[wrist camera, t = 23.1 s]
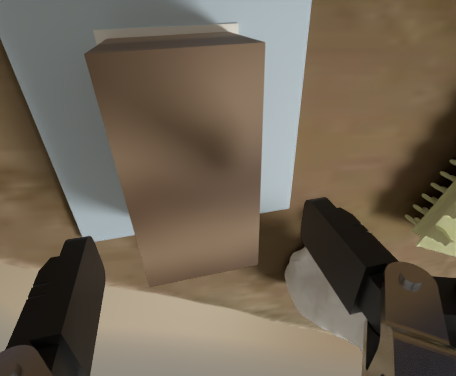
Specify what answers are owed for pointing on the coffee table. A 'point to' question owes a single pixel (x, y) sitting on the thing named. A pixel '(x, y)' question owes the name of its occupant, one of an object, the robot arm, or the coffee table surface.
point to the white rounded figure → (321, 299)
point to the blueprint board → (88, 106)
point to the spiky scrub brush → (438, 219)
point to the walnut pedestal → (186, 146)
